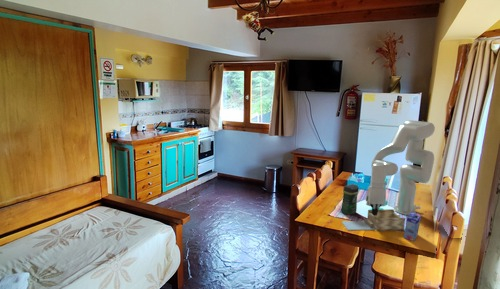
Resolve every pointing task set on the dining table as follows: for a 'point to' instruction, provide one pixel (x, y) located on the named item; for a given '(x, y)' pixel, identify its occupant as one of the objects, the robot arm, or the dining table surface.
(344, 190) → the coffee jar
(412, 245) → the dining table surface
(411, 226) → the ink cartridge box
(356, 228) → the cover plate
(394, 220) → the birch box
